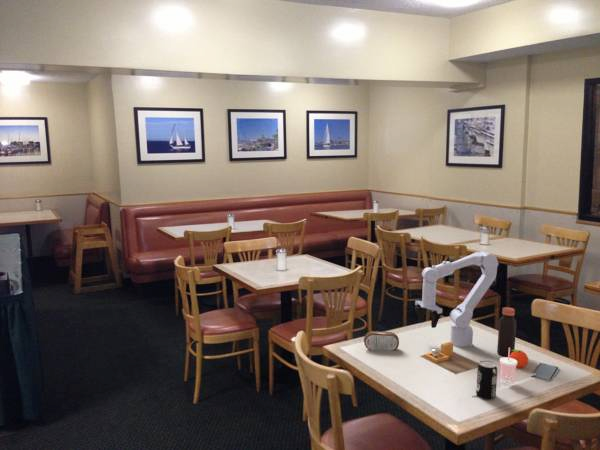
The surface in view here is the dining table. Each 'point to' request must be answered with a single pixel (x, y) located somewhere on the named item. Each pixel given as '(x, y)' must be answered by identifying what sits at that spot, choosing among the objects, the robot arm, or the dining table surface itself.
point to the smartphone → (545, 372)
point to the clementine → (519, 358)
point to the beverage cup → (508, 370)
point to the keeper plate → (456, 363)
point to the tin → (381, 340)
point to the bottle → (506, 332)
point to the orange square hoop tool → (442, 353)
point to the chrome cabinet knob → (435, 352)
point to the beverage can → (486, 380)
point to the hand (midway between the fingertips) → (427, 324)
